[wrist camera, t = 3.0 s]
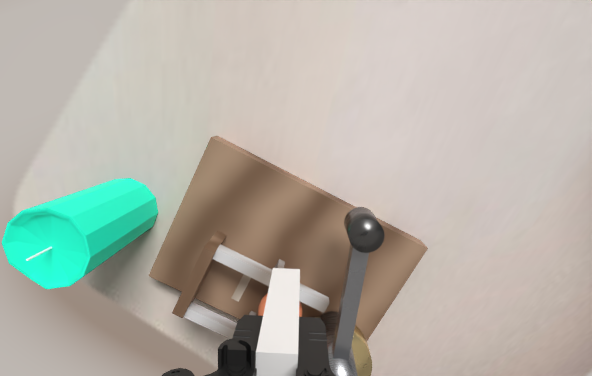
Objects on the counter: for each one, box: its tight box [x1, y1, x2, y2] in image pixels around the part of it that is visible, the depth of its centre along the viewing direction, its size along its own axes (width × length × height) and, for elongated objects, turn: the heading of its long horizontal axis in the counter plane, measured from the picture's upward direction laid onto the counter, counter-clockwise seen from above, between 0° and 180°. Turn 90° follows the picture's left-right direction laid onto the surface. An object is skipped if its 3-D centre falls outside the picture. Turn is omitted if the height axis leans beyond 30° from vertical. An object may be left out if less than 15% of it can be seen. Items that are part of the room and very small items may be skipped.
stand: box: [149, 136, 428, 341], centre depth 30 cm, size 22×15×6 cm
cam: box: [315, 207, 385, 376], centre depth 28 cm, size 10×19×8 cm, turn 153°
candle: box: [2, 178, 158, 289], centre depth 27 cm, size 6×6×12 cm
